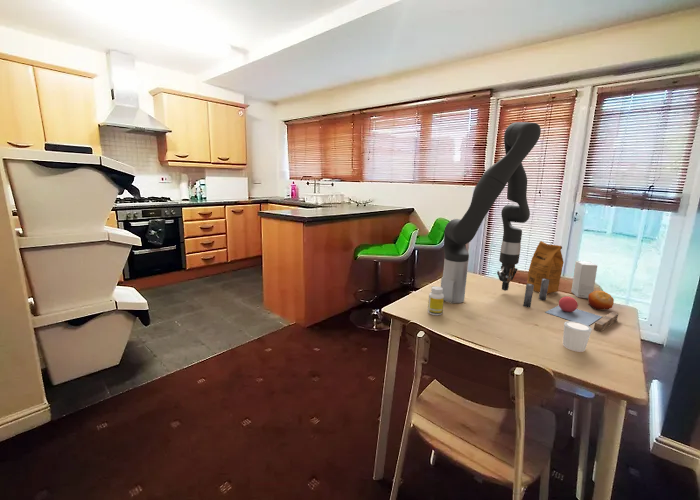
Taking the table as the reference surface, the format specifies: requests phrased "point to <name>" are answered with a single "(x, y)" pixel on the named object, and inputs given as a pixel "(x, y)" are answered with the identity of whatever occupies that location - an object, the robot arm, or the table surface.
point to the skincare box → (584, 278)
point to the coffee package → (546, 267)
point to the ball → (568, 304)
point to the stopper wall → (605, 321)
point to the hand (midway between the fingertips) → (504, 289)
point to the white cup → (576, 336)
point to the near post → (528, 295)
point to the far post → (543, 289)
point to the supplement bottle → (436, 301)
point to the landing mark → (575, 315)
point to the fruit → (600, 300)
